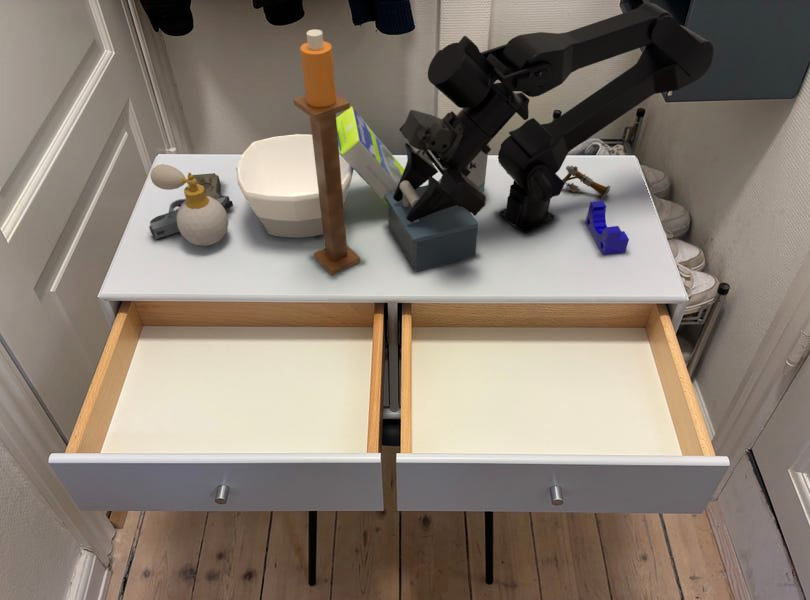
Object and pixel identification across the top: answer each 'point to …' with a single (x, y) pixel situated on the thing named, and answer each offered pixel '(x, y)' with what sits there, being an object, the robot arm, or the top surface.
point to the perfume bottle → (193, 207)
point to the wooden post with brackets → (586, 180)
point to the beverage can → (478, 170)
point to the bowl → (285, 184)
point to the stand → (329, 184)
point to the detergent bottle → (318, 70)
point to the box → (367, 154)
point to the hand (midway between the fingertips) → (401, 209)
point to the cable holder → (605, 230)
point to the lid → (432, 224)
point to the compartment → (434, 246)
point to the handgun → (168, 221)
